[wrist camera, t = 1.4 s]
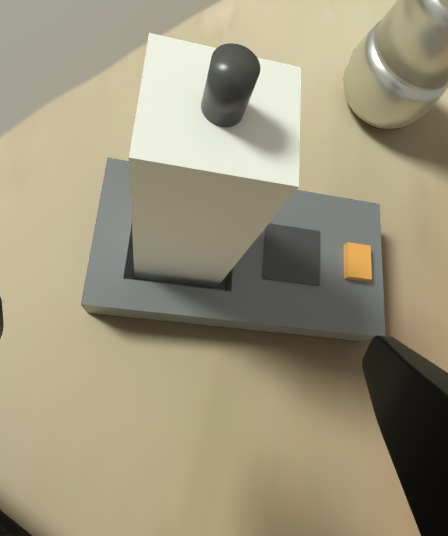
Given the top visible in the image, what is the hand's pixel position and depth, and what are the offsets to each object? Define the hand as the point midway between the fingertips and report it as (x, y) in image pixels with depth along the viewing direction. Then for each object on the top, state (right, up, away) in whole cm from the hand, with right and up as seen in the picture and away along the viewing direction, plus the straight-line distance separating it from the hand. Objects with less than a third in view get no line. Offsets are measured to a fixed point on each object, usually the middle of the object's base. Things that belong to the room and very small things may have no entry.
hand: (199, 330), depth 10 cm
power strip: (+1, +2, +14) cm, 14 cm away
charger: (-2, +3, +13) cm, 13 cm away
